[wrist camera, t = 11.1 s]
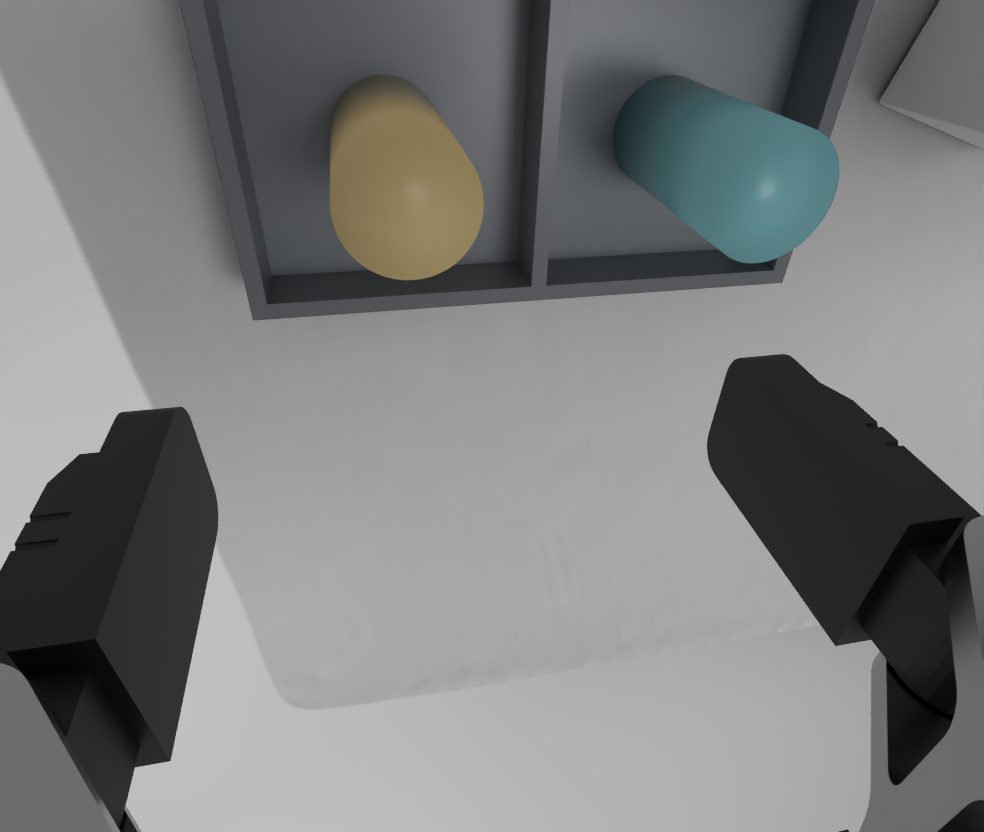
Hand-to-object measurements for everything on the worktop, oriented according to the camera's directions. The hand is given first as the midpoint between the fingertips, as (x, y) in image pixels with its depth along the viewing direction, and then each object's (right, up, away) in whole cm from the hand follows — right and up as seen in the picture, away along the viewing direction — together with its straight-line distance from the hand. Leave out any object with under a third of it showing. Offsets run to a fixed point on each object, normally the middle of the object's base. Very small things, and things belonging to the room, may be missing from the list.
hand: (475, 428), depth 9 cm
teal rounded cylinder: (+7, +11, +15) cm, 20 cm away
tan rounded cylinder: (-4, +10, +13) cm, 17 cm away
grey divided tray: (+1, +11, +15) cm, 19 cm away
